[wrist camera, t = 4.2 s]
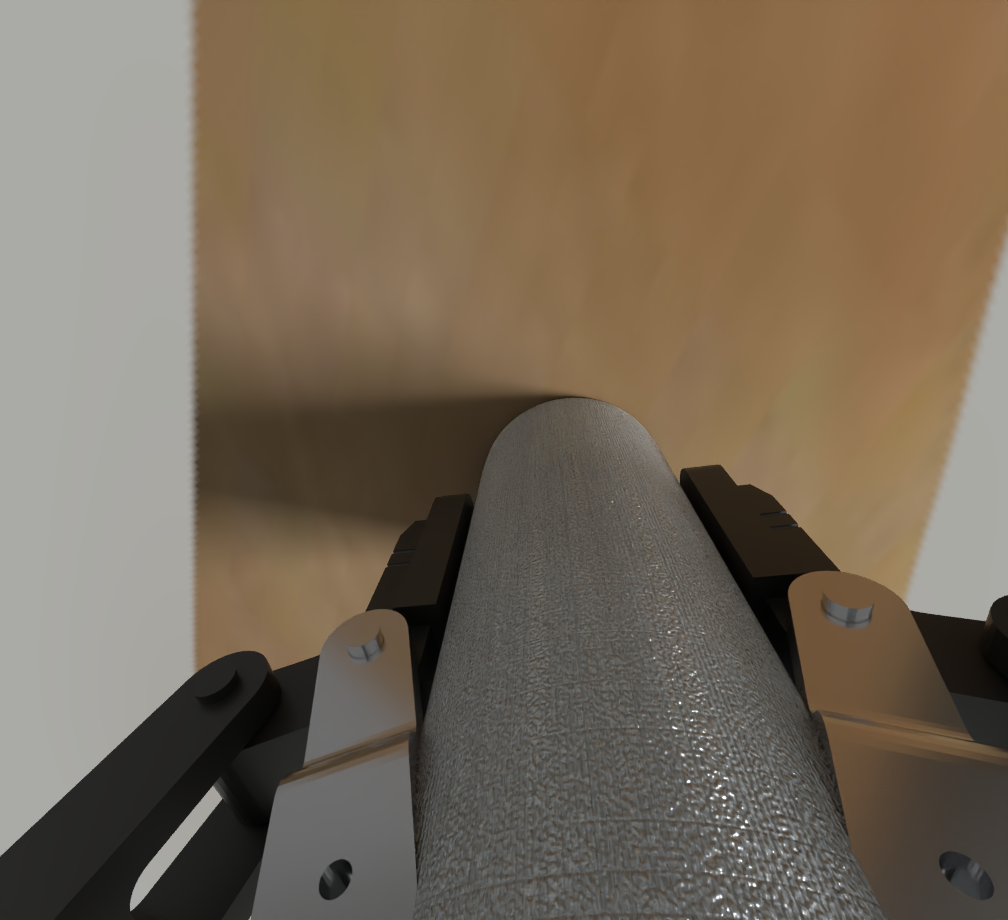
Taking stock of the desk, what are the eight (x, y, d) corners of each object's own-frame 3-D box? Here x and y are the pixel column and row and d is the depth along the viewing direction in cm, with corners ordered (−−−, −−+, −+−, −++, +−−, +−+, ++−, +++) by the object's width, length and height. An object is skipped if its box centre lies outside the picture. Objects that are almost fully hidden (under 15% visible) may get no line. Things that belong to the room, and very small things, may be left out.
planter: (694, 498, 12) (1218, 1377, 3) (548, 577, 13) (572, 1336, 4) (599, 357, 11) (1019, 1173, 1) (448, 460, 12) (146, 1214, 3)
